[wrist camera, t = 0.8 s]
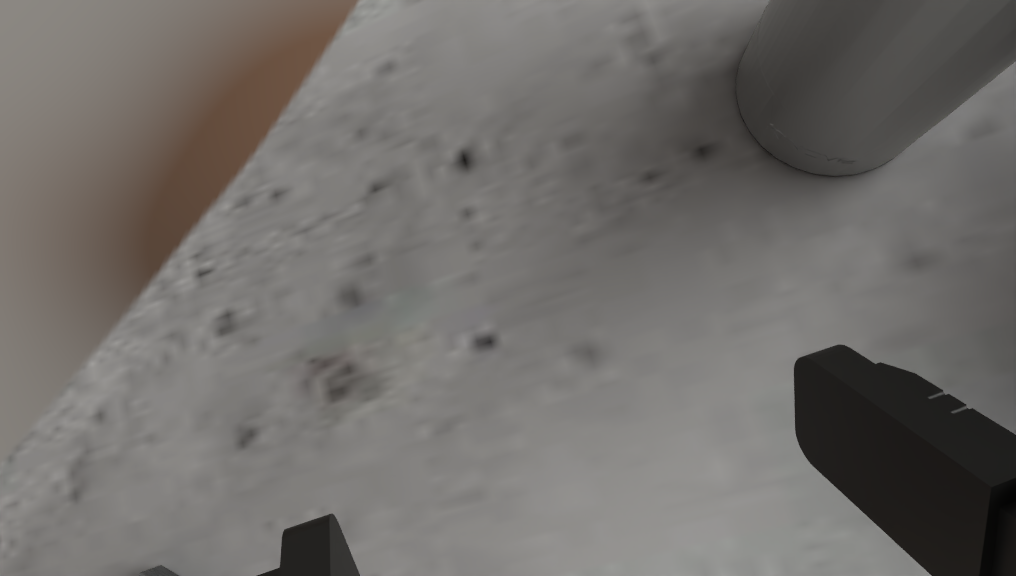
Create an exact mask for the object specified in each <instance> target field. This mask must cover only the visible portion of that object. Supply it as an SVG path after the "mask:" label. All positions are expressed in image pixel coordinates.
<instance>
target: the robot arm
mask: <svg viewBox="0 0 1016 576" xmlns="http://www.w3.org/2000/svg"><path fill="white" fill-rule="evenodd" d="M1015 61H1016V0H770V1H769V3H768V5H767V7H766V9H765V11H764V13H763V15H762V17H761V19H760V21H759V23H758V25H757V27H756V29H755V32H754V34H753V36H752V38H751V40H750V42H749V44H748V46H747V48H746V50H745V52H744V55H743V57H742V59H741V61H740V64H739V68H738V73H737V77H736V97H737V101H738V105H739V109H740V113H741V116H742V118H743V120H744V122H745V123H746V125H747V127H748V129H749V131H750V132H751V134H752V135H753V136H754V137H755V139H756V140H757V141H758V142H759V143H760V145H761V146H762V147H764V148H765V149H766V150H767V151H768V152H770V153H771V154H772V155H773V156H775V157H776V158H777V159H779V160H781V161H783V162H785V163H787V164H789V165H790V166H792V167H794V168H797V169H800V170H804V171H807V172H810V173H814V174H821V175H830V176H841V175H852V174H858V173H862V172H865V171H868V170H872V169H875V168H877V167H879V166H881V165H882V164H884V163H886V162H888V161H890V160H892V159H893V158H894V157H896V156H897V155H898V154H899V153H901V152H902V151H903V150H904V149H906V148H907V147H908V146H910V145H911V144H912V143H913V142H915V141H916V140H917V139H918V138H920V137H921V136H922V135H923V134H925V133H926V132H927V131H928V130H930V129H931V128H932V127H933V126H935V125H936V124H938V123H939V122H940V121H941V120H943V119H944V118H945V117H947V116H948V115H949V114H950V113H952V112H953V111H954V110H955V109H957V108H958V107H959V106H960V105H962V104H963V103H964V102H965V101H967V100H968V99H969V98H970V97H972V96H973V95H974V94H975V93H977V92H978V91H979V90H980V89H982V88H983V87H984V86H985V85H987V84H988V83H989V82H990V81H992V80H993V79H994V78H995V77H997V76H998V75H999V74H1000V73H1002V72H1003V71H1004V70H1005V69H1007V68H1008V67H1009V66H1010V65H1012V64H1013V63H1014V62H1015ZM794 394H795V431H796V437H797V440H798V443H799V445H800V448H801V450H802V452H803V453H804V455H805V457H806V458H807V459H808V461H809V462H810V463H811V464H812V465H813V466H814V467H815V468H816V469H817V470H818V471H819V472H820V473H821V474H822V475H823V476H824V477H826V478H827V479H828V480H829V481H830V482H831V483H832V484H833V485H834V486H835V487H836V488H837V489H839V490H840V491H841V492H842V493H843V494H844V495H845V496H846V497H847V498H848V499H849V500H850V501H852V502H853V503H854V504H855V505H856V506H857V507H858V508H859V509H860V510H861V511H862V512H863V513H865V514H866V515H867V516H868V517H869V518H870V519H871V520H872V521H873V522H874V523H875V524H876V525H878V526H879V527H880V528H881V529H882V530H883V531H884V532H885V533H886V534H887V535H888V536H889V537H891V538H892V539H893V540H894V541H895V542H896V543H897V544H898V545H899V546H900V547H901V548H902V549H903V550H905V551H906V552H907V553H908V554H909V555H910V556H911V557H912V558H913V559H914V560H915V561H916V562H918V563H919V564H920V565H921V566H922V567H923V568H924V569H925V570H926V571H927V572H928V573H929V574H931V575H932V576H1016V435H1015V434H1014V433H1012V432H1010V431H1009V430H1007V429H1005V428H1004V427H1002V426H1000V425H999V424H997V423H995V422H994V421H992V420H991V419H989V418H987V417H986V416H984V415H982V414H981V413H979V412H977V411H976V410H974V409H973V408H972V409H968V408H967V406H966V404H964V403H963V402H961V401H959V400H958V399H956V398H955V397H953V396H951V395H950V394H947V395H945V394H944V393H943V390H941V389H940V388H938V387H936V386H935V385H933V384H932V383H930V382H928V381H927V380H925V379H923V378H922V377H920V376H918V375H917V374H915V373H912V372H909V371H906V370H903V369H900V368H896V367H893V366H890V365H887V364H884V363H881V362H880V363H877V364H874V363H873V362H871V361H870V360H868V359H867V358H865V357H863V356H862V355H860V354H859V353H857V352H856V351H854V350H852V349H851V348H849V347H847V346H845V345H836V346H833V347H830V348H827V349H824V350H821V351H818V352H815V353H812V354H809V355H806V356H803V357H800V358H799V359H798V360H797V361H796V363H795V366H794ZM257 576H360V574H359V572H358V569H357V567H356V565H355V562H354V560H353V557H352V555H351V552H350V550H349V547H348V545H347V543H346V540H345V538H344V535H343V533H342V530H341V528H340V526H339V523H338V521H337V519H336V517H335V516H334V515H333V514H329V515H326V516H323V517H320V518H317V519H314V520H311V521H308V522H305V523H302V524H299V525H296V526H293V527H290V528H287V529H285V530H284V532H283V535H282V547H281V562H280V568H278V569H275V570H272V571H269V572H266V573H263V574H260V575H257Z"/></svg>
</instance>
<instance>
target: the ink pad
mask: <svg viewBox="0 0 1016 576" xmlns="http://www.w3.org/2000/svg"><path fill="white" fill-rule="evenodd" d="M139 576H178V575H177V574H175V573H173V572H172V571H170V570H168V569H167V568H165V567H163V566H162V565H161V566H158V567H155V568H152V569H150V570H147V571H144V572H141V573H140V575H139Z"/></svg>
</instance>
